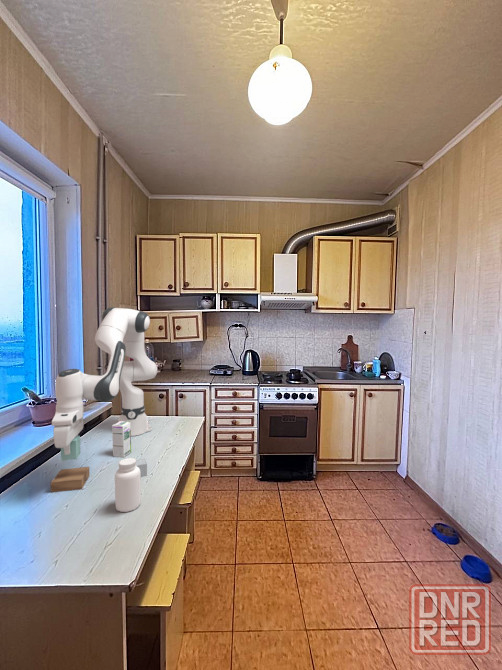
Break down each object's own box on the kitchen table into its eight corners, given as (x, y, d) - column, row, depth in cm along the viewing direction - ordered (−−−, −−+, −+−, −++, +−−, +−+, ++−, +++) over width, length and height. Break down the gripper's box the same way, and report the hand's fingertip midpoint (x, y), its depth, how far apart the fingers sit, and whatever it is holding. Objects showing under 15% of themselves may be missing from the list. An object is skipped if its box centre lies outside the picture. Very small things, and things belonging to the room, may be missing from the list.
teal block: (65, 454, 118) (65, 436, 117) (80, 453, 119) (80, 435, 119) (61, 460, 113) (60, 441, 113) (76, 459, 114) (75, 440, 114)
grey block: (131, 473, 125) (131, 461, 125) (144, 470, 127) (144, 458, 127) (133, 478, 120) (133, 466, 120) (147, 476, 123) (146, 463, 123)
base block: (61, 479, 120) (61, 469, 120) (89, 476, 123) (89, 466, 122) (51, 493, 111) (50, 482, 110) (81, 490, 113) (81, 479, 113)
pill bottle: (121, 498, 107) (121, 455, 107) (144, 498, 107) (144, 456, 106) (110, 512, 99) (109, 466, 99) (135, 513, 99) (134, 467, 98)
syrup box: (124, 457, 139) (123, 425, 138) (112, 456, 140) (111, 424, 139) (131, 452, 144) (131, 421, 144) (120, 451, 145) (119, 420, 145)
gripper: (70, 406, 125) (70, 440, 125) (49, 422, 105) (50, 463, 105) (87, 405, 126) (87, 439, 127) (70, 421, 106) (71, 461, 107)
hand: (70, 450), depth 116 cm, fingers closed on teal block, 5 cm apart
